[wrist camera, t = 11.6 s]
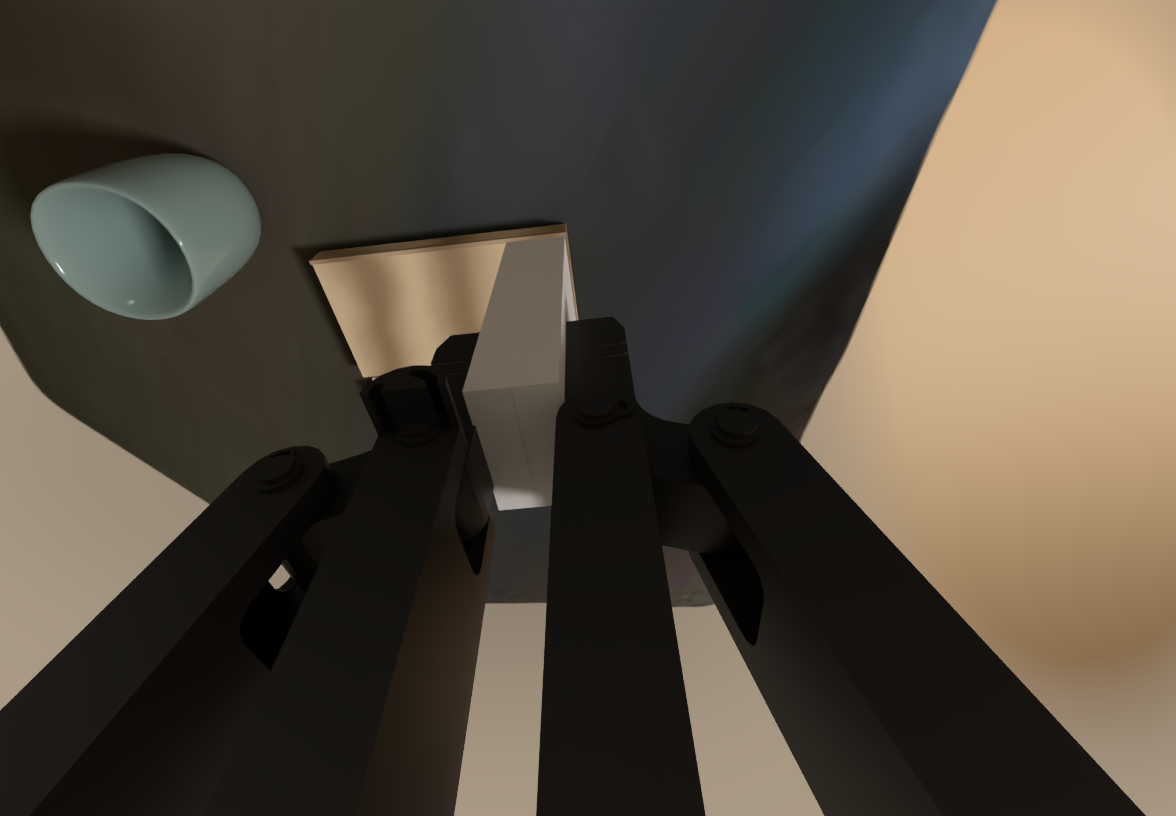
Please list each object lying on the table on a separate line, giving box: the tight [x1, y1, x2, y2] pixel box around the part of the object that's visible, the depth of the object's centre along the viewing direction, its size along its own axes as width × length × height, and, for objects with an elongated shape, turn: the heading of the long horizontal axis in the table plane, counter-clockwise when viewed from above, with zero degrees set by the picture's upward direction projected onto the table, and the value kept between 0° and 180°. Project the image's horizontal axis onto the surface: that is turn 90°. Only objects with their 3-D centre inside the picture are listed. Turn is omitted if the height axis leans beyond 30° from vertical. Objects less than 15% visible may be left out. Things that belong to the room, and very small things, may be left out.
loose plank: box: [309, 224, 578, 377], centre depth 40 cm, size 18×10×2 cm, turn 96°
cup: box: [30, 153, 262, 320], centre depth 32 cm, size 8×8×10 cm
